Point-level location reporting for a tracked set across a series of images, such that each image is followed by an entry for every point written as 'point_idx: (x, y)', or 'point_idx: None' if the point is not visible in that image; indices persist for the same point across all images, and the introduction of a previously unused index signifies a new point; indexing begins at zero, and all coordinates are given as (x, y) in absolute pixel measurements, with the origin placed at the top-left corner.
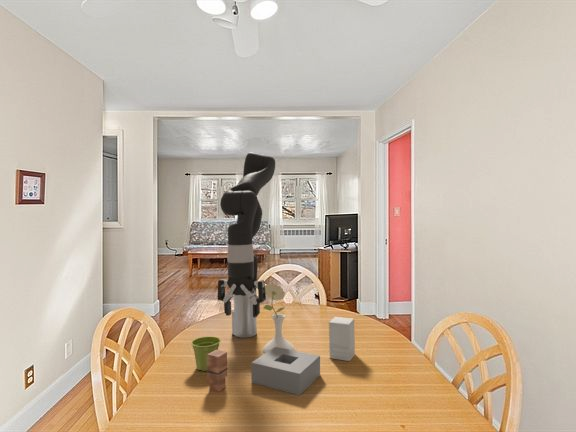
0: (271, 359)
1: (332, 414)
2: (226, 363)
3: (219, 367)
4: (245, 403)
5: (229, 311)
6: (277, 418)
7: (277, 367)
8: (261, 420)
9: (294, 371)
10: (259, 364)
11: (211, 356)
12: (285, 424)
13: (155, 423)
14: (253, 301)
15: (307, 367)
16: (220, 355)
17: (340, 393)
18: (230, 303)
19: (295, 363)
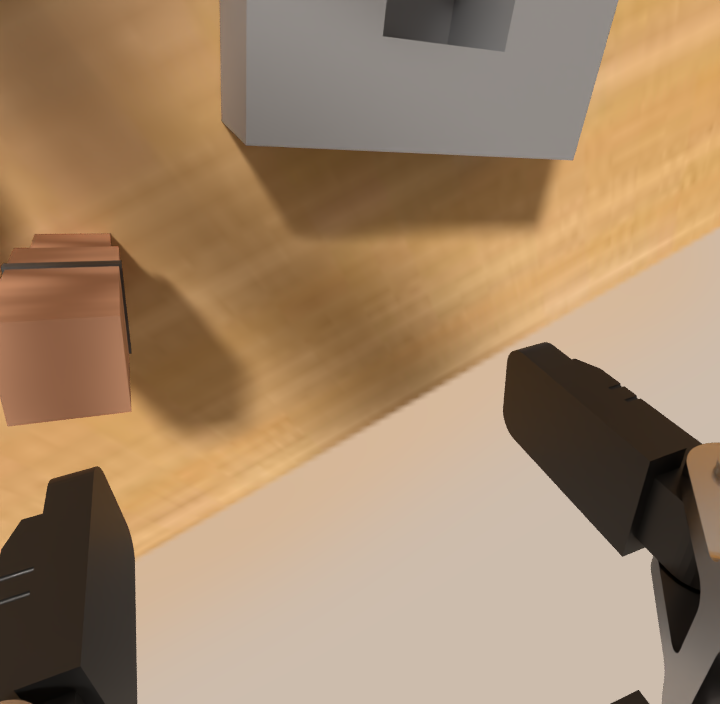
0: (358, 17)
1: (624, 216)
2: (120, 287)
3: (128, 358)
4: (311, 311)
5: (115, 549)
6: (462, 328)
7: (443, 139)
8: (417, 364)
9: (545, 147)
10: (316, 147)
11: (59, 415)
12: (494, 341)
13: None
14: (682, 603)
15: (602, 44)
16: (125, 386)
17: (663, 34)
18: (93, 648)
19: (534, 22)
